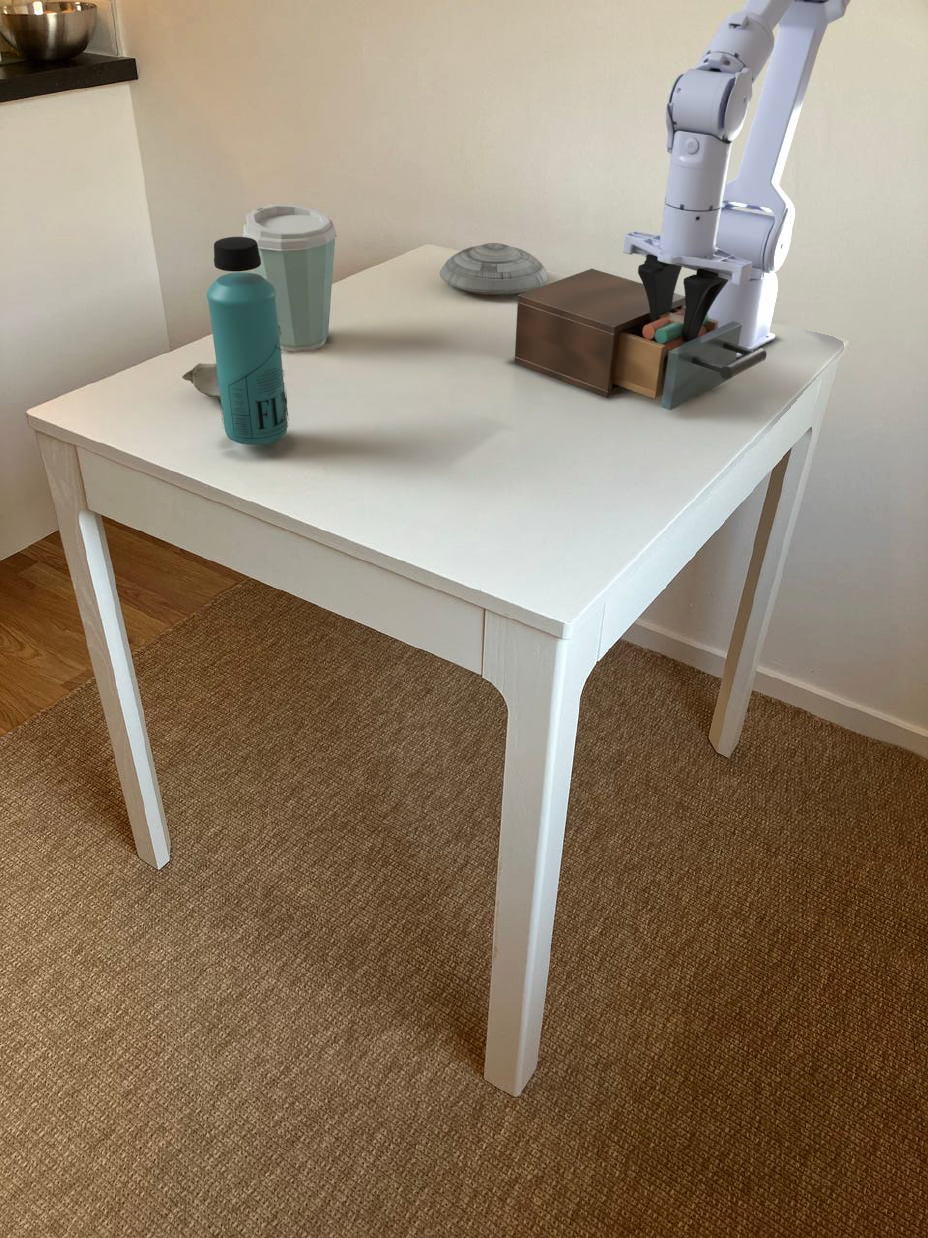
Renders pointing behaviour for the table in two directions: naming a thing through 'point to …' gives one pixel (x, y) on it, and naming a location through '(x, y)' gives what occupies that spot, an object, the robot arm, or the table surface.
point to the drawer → (681, 362)
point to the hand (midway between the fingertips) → (674, 333)
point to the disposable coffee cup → (296, 269)
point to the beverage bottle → (247, 346)
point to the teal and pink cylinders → (669, 330)
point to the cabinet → (580, 327)
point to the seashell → (204, 379)
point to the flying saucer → (494, 270)
